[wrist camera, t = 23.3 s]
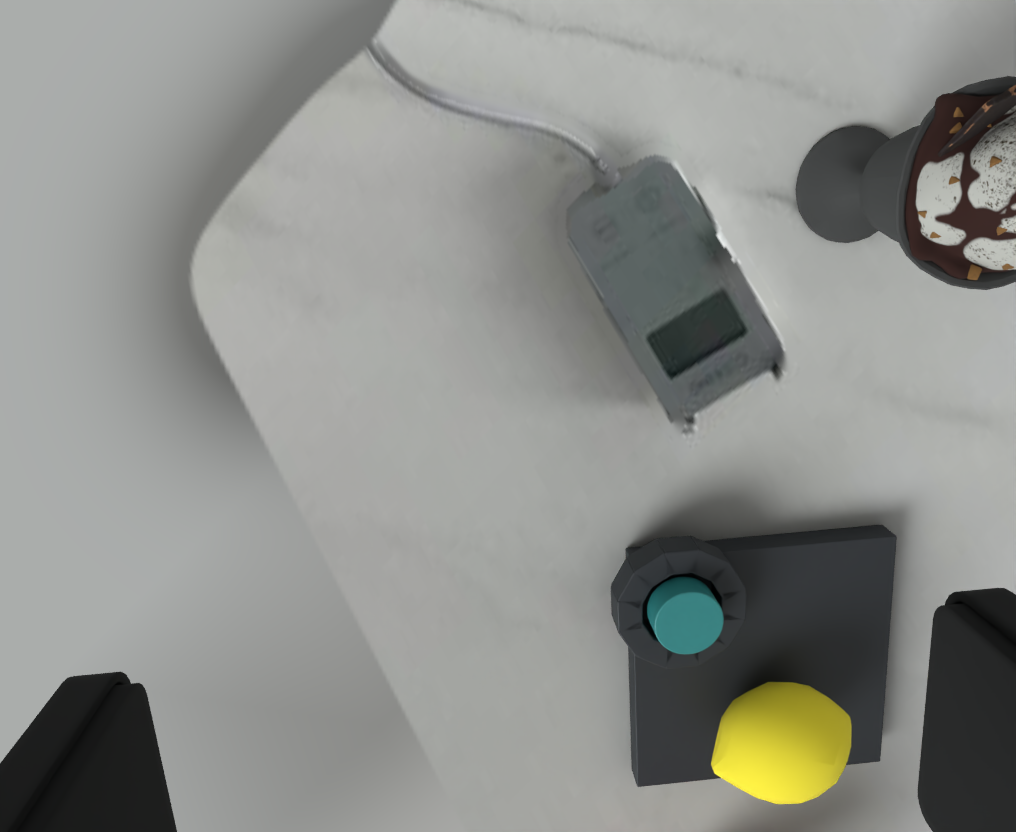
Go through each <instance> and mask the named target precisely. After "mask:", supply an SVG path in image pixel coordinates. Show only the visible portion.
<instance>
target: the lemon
mask: <svg viewBox="0 0 1016 832" xmlns="http://www.w3.org/2000/svg"><path fill="white" fill-rule="evenodd" d="M851 728H852V726H851V720H850V717H849V715H848V714H847V713H846V712H845V711H844V710H843V709H842V708H841V707H839V706H838V705H837V704H836V703H835V702H833V701H832V700H831V699H830V698H828V697H827V696H825V695H823V694H822V693H820V692H818V691H817V690H815V689H813V688H812V687H810V686H808V685H803V684H798V683H793V682H767V683H765V684H763V685H760V686H758V687H756V688H754V689H752V690H750V691H748V692H746V693H744V694H743V695H741V696H739V697H738V698H736V699H734V700H733V701H732V703H731V704H730V705H729V707H728V708H727V710H726V711H725V713H724V714H723V716H722V717H721V721H720V725H719V729H718V733H717V738H716V742H715V747H714V751H713V756H712V761H711V767H712V770H713V772H714V774H716V775H718V776H719V777H721V778H722V779H724V780H726V781H727V782H729V783H731V784H732V785H734V786H736V787H737V788H739V789H741V790H743V791H745V792H747V793H748V794H750V795H752V796H754V797H756V798H759V799H762V800H765V801H768V802H772V803H775V804H799V803H803V802H805V801H808V800H811V799H813V798H816V797H818V796H820V795H821V794H822V793H824V792H825V791H826V790H828V789H829V788H830V787H832V786H833V785H834V784H835V783H837V781H838V779H839V777H840V776H841V774H842V772H843V770H844V768H845V766H846V763H847V761H848V757H849V753H850V749H851Z"/></svg>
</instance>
